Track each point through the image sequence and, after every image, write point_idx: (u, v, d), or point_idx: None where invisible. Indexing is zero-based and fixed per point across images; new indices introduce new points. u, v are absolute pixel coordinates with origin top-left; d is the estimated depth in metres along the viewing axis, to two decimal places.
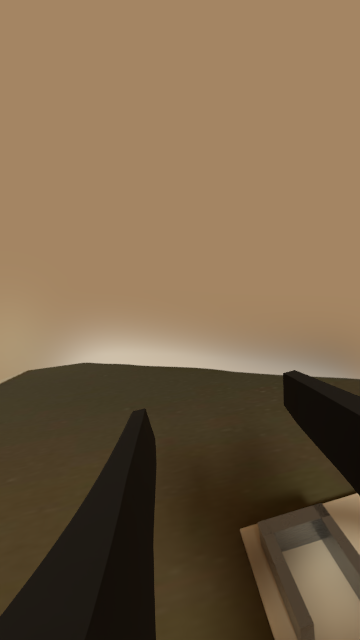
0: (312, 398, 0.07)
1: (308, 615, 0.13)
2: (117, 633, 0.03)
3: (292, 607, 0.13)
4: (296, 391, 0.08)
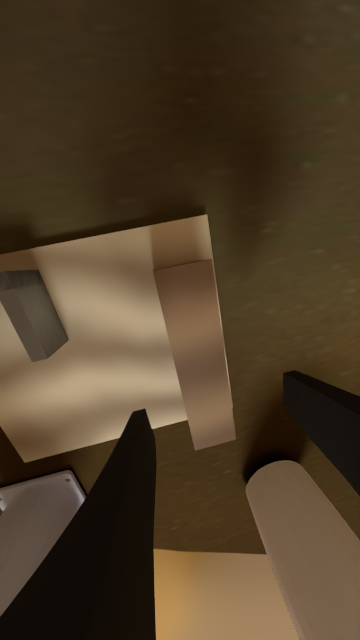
0: (312, 398, 0.07)
1: None
2: (117, 633, 0.03)
3: None
4: (296, 391, 0.08)
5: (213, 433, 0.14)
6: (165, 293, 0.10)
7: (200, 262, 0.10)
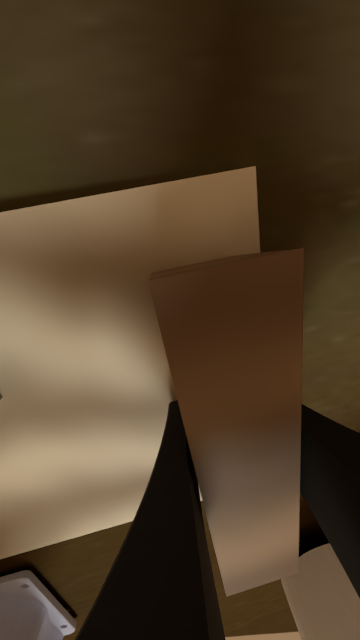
0: None
1: None
2: (210, 603, 0.04)
3: None
4: None
5: (261, 570, 0.08)
6: (180, 337, 0.04)
7: (275, 257, 0.04)
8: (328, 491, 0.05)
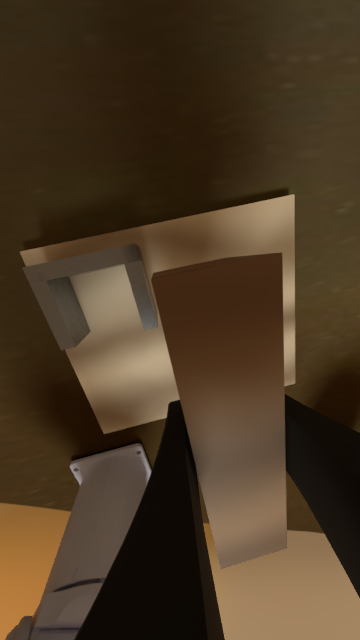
0: None
1: (72, 343, 0.12)
2: (209, 603, 0.04)
3: (57, 339, 0.12)
4: None
5: (252, 544, 0.08)
6: (178, 327, 0.05)
7: (257, 260, 0.05)
8: (328, 491, 0.05)
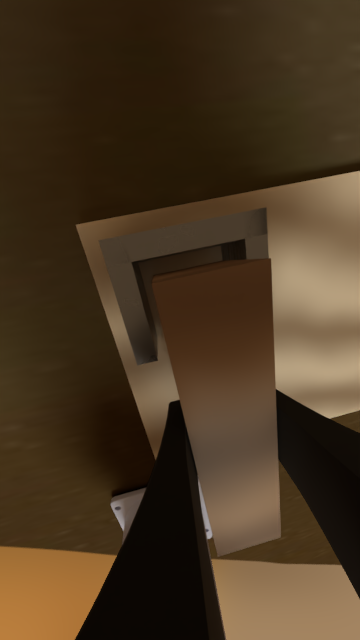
0: None
1: (153, 355, 0.09)
2: (210, 603, 0.04)
3: (133, 349, 0.08)
4: None
5: (247, 533, 0.09)
6: (176, 327, 0.05)
7: (248, 265, 0.05)
8: (328, 491, 0.05)
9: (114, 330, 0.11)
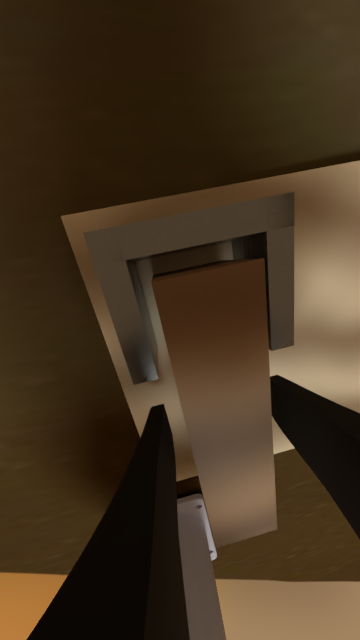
0: (291, 403, 0.07)
1: (153, 373, 0.07)
2: (164, 618, 0.03)
3: (129, 366, 0.07)
4: (277, 396, 0.08)
5: (244, 525, 0.09)
6: (175, 323, 0.06)
7: (243, 265, 0.05)
8: (358, 482, 0.05)
9: (108, 339, 0.10)
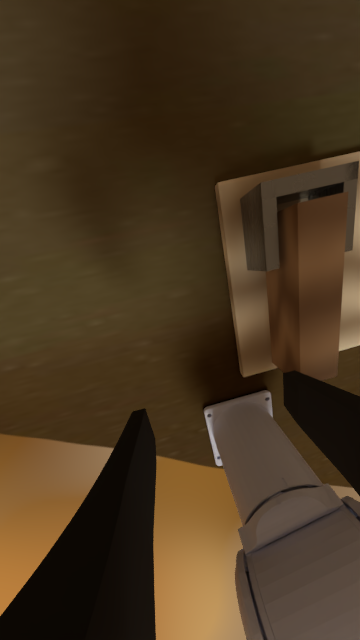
0: (312, 398, 0.07)
1: (278, 264, 0.13)
2: (117, 633, 0.03)
3: (266, 259, 0.13)
4: (296, 391, 0.08)
5: (319, 369, 0.15)
6: (304, 225, 0.12)
7: (338, 194, 0.11)
8: None
9: (230, 261, 0.16)
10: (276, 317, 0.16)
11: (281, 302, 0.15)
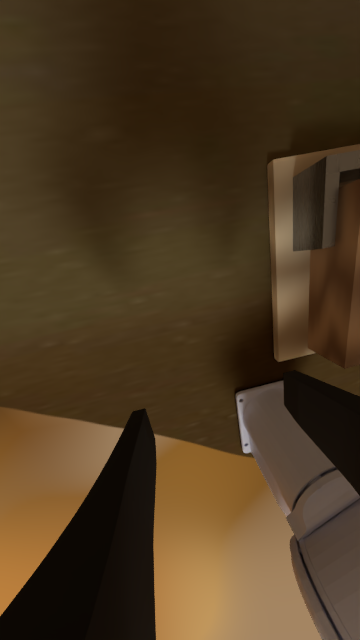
0: (312, 398, 0.07)
1: (333, 241, 0.13)
2: (117, 633, 0.03)
3: (322, 236, 0.13)
4: (296, 391, 0.08)
5: None
6: None
7: None
8: None
9: (277, 242, 0.16)
10: (319, 299, 0.16)
11: (328, 283, 0.15)
